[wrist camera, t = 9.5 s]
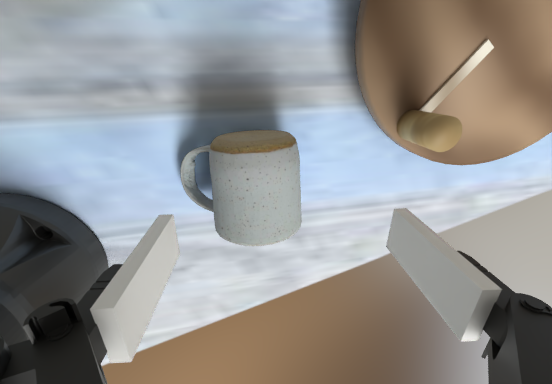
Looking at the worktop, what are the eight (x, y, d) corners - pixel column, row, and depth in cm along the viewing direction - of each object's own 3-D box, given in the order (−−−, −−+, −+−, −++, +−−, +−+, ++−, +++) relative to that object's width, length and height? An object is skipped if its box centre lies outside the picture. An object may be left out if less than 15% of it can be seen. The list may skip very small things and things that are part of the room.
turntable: (547, -284, 14) (724, -503, 9) (663, 11, 21) (805, -14, 15) (299, 50, 20) (316, 38, 14) (452, 199, 26) (503, 229, 21)
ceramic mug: (292, 123, 24) (307, 141, 16) (295, 203, 27) (308, 246, 20) (176, 131, 23) (140, 153, 16) (193, 211, 26) (169, 258, 19)
